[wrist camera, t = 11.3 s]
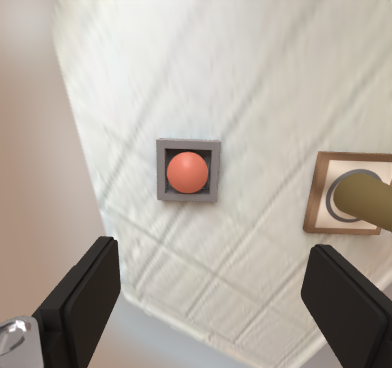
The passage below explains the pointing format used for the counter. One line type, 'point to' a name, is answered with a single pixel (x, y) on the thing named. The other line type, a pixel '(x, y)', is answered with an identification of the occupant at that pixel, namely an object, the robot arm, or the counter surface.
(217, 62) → the counter surface
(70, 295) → the robot arm
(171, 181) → the button
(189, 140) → the button housing
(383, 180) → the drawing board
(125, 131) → the counter surface
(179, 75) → the counter surface
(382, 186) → the olive gourd
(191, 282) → the counter surface
